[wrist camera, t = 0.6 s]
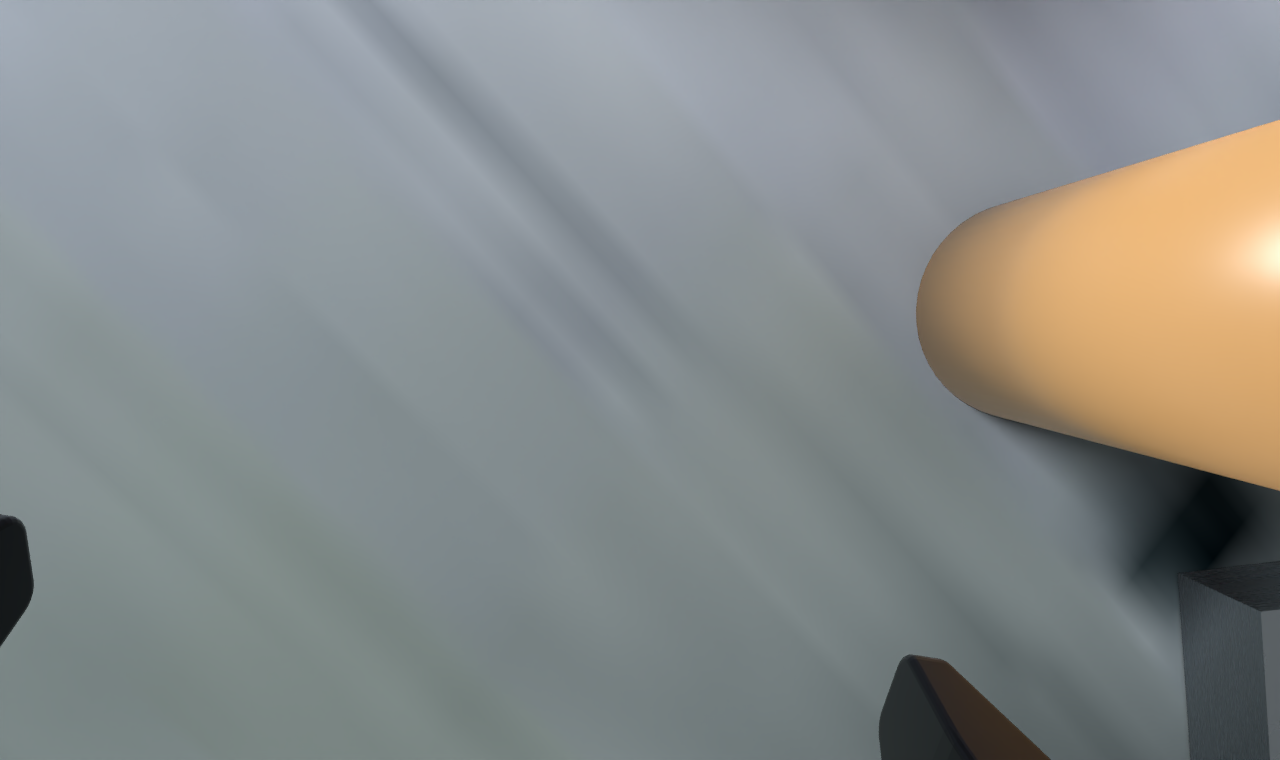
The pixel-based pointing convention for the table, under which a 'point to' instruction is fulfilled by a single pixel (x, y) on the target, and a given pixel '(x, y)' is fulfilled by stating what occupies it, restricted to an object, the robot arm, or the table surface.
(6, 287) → the table surface
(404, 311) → the table surface
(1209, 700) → the grey square frame
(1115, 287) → the plug
